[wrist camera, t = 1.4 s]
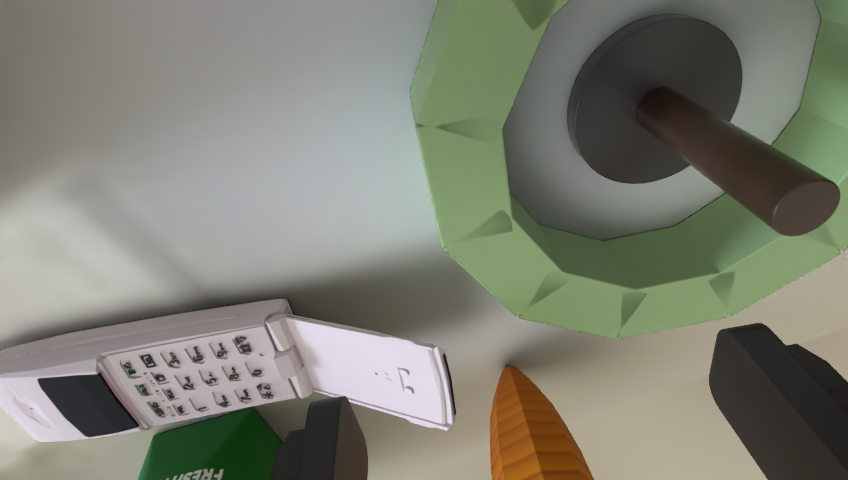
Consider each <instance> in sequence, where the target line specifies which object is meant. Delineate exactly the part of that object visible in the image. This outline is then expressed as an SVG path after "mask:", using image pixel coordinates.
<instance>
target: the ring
mask: <svg viewBox="0 0 848 480" xmlns="http://www.w3.org/2000/svg"><path fill="white" fill-rule="evenodd" d="M569 1H570V0H438V3H437V6H436V9H435V12H434V16H433V19H432V22H431V25H430V28H429V31H428V35H427V38H426V41H425V44H424V47H423V50H422V53H421V57H420V60H419V63H418V66H417V69H416V72H415V76H414V79H413V82H412V85H411V88H410V91H411V95H410V98H411V104H412V109H413V115H414V121H415V127H416V132H417V136H418V141H419V145H420V150H421V154H422V159H423V164H424V168H425V173H426V177H427V182H428V186H429V191H430V195H431V200H432V205H433V209H434V214H435V218H436V223H437V227H438V232H439V236H440V241H441V245H442V246H443V247H444V250H445V252H447V253H448V254H449V255H450V256H451V257H452V258H453V259H454V260H455V261H456V262H457V263H458V264H460V265H461V266H462V267H463V268H464V269H465V270H466V271H467V272H468V273H469V274H470V275H472V276H473V277H474V278H475V279H476V280H477V281H478V282H479V283H480V284H481V285H482V286H483V287H485V288H486V289H487V290H488V291H489V292H490V293H491V294H492V295H493V296H494V297H495V298H496V299H498V300H499V301H500V302H501V303H502V304H503V305H504V306H505V307H506V308H507V309H508V310H510V311H511V312H512V313H513V314H514V315H515V316H519V318H520V319H524V320H529V321H534V322H539V323H543V324H548V325H553V326H558V327H562V328H567V329H572V330H577V331H582V332H586V333H591V334H596V335H601V336H605V337H610V338H616V337H617V336H618V338H620V339H621V338H626V337H631V336H636V335H641V334H646V333H651V332H656V331H661V330H666V329H671V328H676V327H681V326H686V325H692V324H697V323H702V322H707V321H712V320H717V319H722V318H726V317H727V314H729V315H730V316H732V315H733V314H735V313H737V312H739V311H741V310H742V309H744V308H746V307H748V306H749V305H751V304H753V303H755V302H757V301H758V300H760V299H762V298H764V297H765V296H767V295H769V294H771V293H773V292H774V291H776V290H778V289H780V288H781V287H783V286H785V285H787V284H789V283H790V282H792V281H794V280H796V279H797V278H799V277H801V276H803V275H805V274H806V273H808V272H810V271H812V270H813V269H815V268H817V267H819V266H821V265H822V264H824V263H826V262H828V261H829V260H831V259H833V258H835V257H836V256H838V255H840V254H841V253H840V251H839V250H846V249H847V248H848V0H815V2H816V4H817V7H818V10H819V13H820V16H821V23H820V28H819V32H818V36H817V40H816V44H815V48H814V52H813V57H812V61H811V65H810V69H809V73H808V77H807V81H806V85H805V90H804V94H803V98H802V102H801V106H800V109H799V111H798V112H797V113H796V115H795V116H794V117H793V119H792V120H791V121H790V123H789V124H788V125H787V127H786V128H785V129H784V131H783V132H782V133H781V135H780V136H779V137H778V139H777V140H776V141H775V142H774V144H773V145H772V147H774V148H775V149H777V150H779V151H781V152H782V153H784V154H786V155H788V156H789V157H791V158H793V159H795V160H796V161H798V162H800V163H802V164H803V165H805V166H807V167H809V168H810V169H812V170H814V171H816V172H817V173H819V174H821V175H823V176H824V177H826V178H828V179H830V180H831V181H833V182H834V183H836V184H837V186H838V188H839V189H840V194H841V197H840V202H839V205H838V207H837V209H836V211H835V212H834V213H833V215H832V216H831V217H830V218H829V219H828V220H827V221H826V222H825V223H824V224H822V225H821V226H820V227H818V228H817V229H815V230H813V231H811V232H809V233H806V234H804V235H800V236H784V235H781V234H779V233H777V232H776V231H774V230H773V229H772V228H771V227H769V226H768V225H767V224H766V223H764V222H763V221H762V220H760V219H759V218H758V217H757V216H755V215H754V214H753V213H751V212H750V211H749V210H748V209H746V208H745V207H744V206H743V205H741V204H740V203H739V202H737V201H736V200H735V199H734V198H732V197H731V196H730V195H728V194H727V193H725V194H724V195H722V196H721V197H719V198H718V199H716V200H715V201H713V202H712V203H710V204H708V205H707V206H705V207H704V208H702V209H701V210H699V211H698V212H696V213H695V214H693V215H692V216H690V217H688V218H687V219H685V220H684V221H682V222H681V223H679V224H678V225H676V226H673V227H668V228H663V229H659V230H654V231H649V232H644V233H639V234H634V235H630V236H625V237H620V238H615V239H610V240H605V241H600V240H596V239H592V238H589V237H585V236H581V235H577V234H573V233H570V232H566V231H562V230H558V229H555V228H551V227H547V226H543V225H539V224H538V223H537V222H536V221H535V220H534V219H533V218H532V217H531V215H530V214H529V213H528V212H527V211H526V210H525V209H524V208H523V207H522V205H521V204H520V203H519V202H518V201H517V200H516V199H515V198H514V197H513V195H512V194H511V193H510V189H509V180H508V171H507V163H506V154H505V145H504V136H503V126H504V124H505V122H506V120H507V117H508V115H509V113H510V110H511V108H512V106H513V103H514V101H515V99H516V96H517V94H518V92H519V90H520V87H521V85H522V83H523V80H524V78H525V76H526V73H527V71H528V69H529V67H530V64H531V62H532V60H533V57H534V55H535V53H536V50H537V48H538V46H539V44H540V41H541V39H542V37H543V34H544V32H545V30H546V27H547V25H548V23H549V21H550V18H551V17H552V16H553V15H554V14H556V13H557V12H558V11H559V10H560V9H561V8H562V7H564V6H565V5H566V4H567V3H568V2H569Z"/></svg>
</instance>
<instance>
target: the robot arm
mask: <svg viewBox="0 0 848 480" xmlns="http://www.w3.org/2000/svg"><path fill="white" fill-rule="evenodd" d="M709 385H710V389H711V393H712V395H713V398H714V400H715V402H716V404H717V406H718V407H719V409H720V410H721V412H722V413H723V415H724V416H725V417H726V419H727V421H728V422H729V423H730V425H731V426H732V428H733V429H734V431H735V432H736V434H737V435H738V437H739V438H740V440H741V441H742V443H743V444H744V445H745V447H746V448H747V450H748V451H749V453H750V454H751V456H752V457H753V459H754V460H755V461H756V463H757V465H758V466H759V467H760V469H761V470H762V472H763V473H764V474H765V476H766V478H767V479H768V480H848V382H847V381H846V380H845V379H844V378H843V377H842V376H841V375H840V374H839V373H838V372H837V371H836V370H835V369H833V367H832V366H831V365H830V364H829V363H828V362H827V361H825V360H823V359H822V358H820V357H818V356H817V355H815V354H813V353H811V352H810V351H808V350H806V349H805V348H803V347H801V346H799V345H798V344H793V345H787V346H786V345H785V344H784V343H783V342H782V341H781V340H780V339H779V338H778V337H777V336H776V335H775V334H774V333H773V332H772V330H770V329H769V328H768V327H767V326H766V325H764V324H761V323H755V324H750V325H744V326H738V327H733V328H727V329H722V330H720V331H719V332H718V335H717V339H716V344H715V349H714V354H713V359H712V364H711V369H710V374H709ZM367 474H368V455H367V447H366V442H365V438H364V435H363V433H362V430H361V428H360V426H359V423H358V421H357V419H356V416H355V414H354V412H353V409H352V407H351V405H350V402H349V400H348V398H347V397H346V396H340V397H334V398H329V399H323V400H318V401H313V402H311V403H310V405H309V408H308V413H307V419H306V425H305V429H302V430H296V431H290V432H289V434H288V436H287V437H286V439H285V441H284V442H283V444H282V446H281V447H280V449H279V451H278V452H277V454H276V457H275V461H274V466H273V471H272V475H271V480H367Z"/></svg>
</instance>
